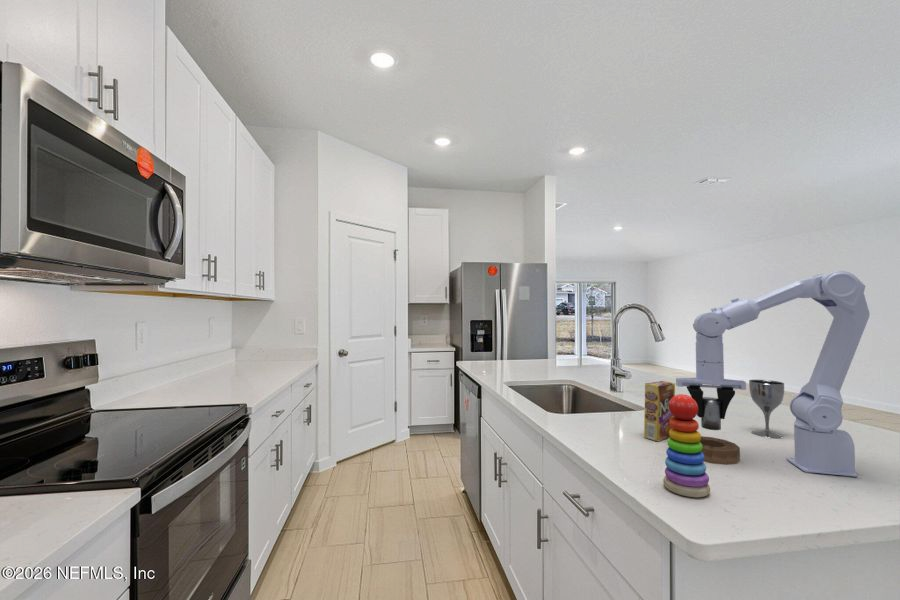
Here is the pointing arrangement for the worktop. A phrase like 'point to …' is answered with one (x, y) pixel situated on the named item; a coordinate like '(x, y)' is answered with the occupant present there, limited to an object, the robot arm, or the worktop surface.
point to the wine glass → (766, 401)
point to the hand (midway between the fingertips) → (710, 417)
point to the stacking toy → (685, 451)
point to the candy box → (658, 410)
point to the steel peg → (711, 413)
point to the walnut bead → (719, 451)
